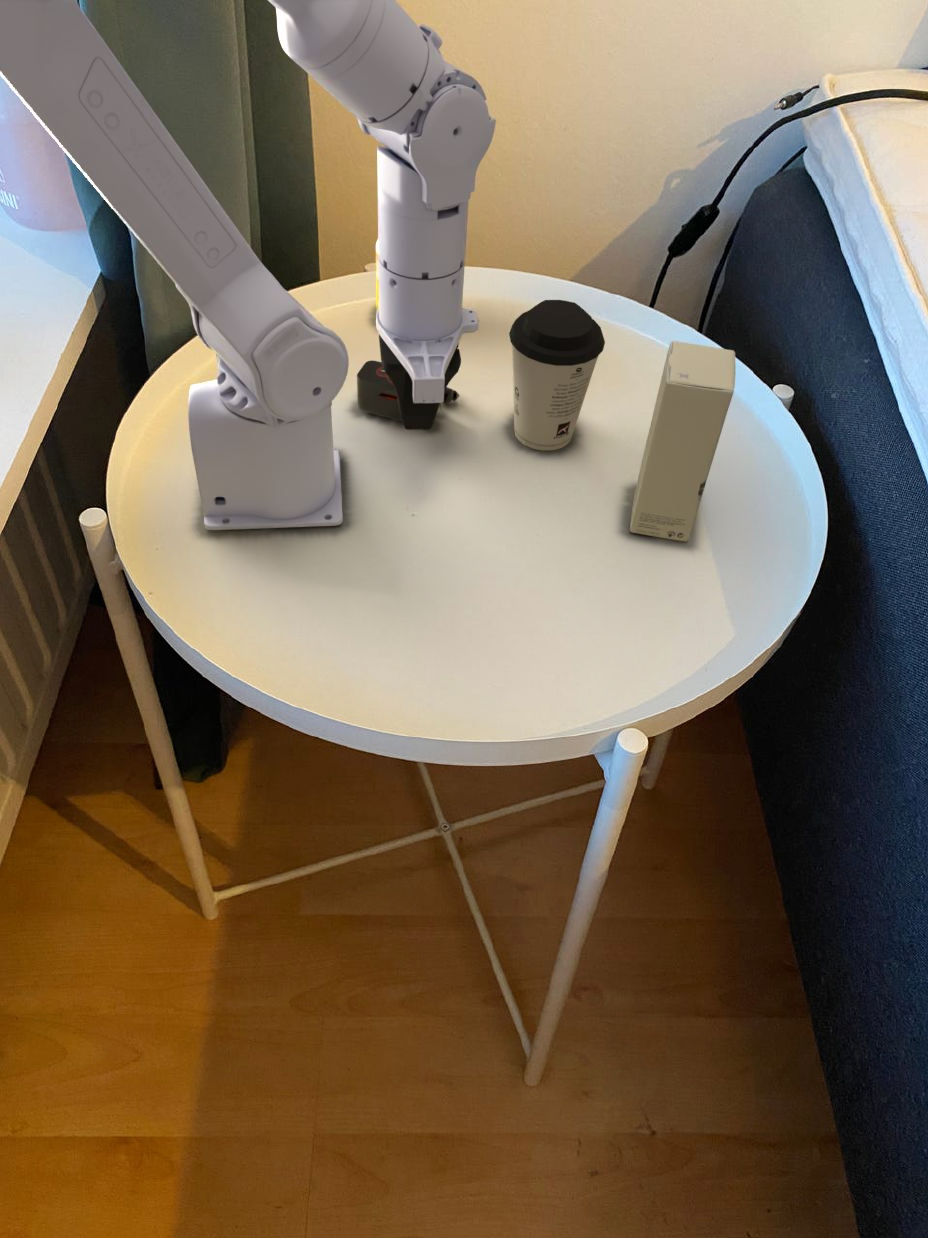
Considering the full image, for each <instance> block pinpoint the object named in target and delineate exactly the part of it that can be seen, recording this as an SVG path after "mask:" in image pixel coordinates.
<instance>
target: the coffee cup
mask: <svg viewBox="0 0 928 1238" xmlns="http://www.w3.org/2000/svg"><path fill="white" fill-rule="evenodd" d="M508 335H509V336H508V337H509V341H510V343H511V353H512V355H511V356H512V357H511V358H512V394H513V395H512V396H513V399H512V401H513V431H514V436H515V438H516V439H517V440H518V442H520V443H521V444H522V445H524V446H526V447H527V448H530V449H532V450H537V451H541V452H543V451H545V452H548V451H550V452H552V451H557V450H561V449H562V448H565V446H567V445H568V444H570V442H571V441H572V437H573V434H574V432H575V429H576V425H577V421H578V420H579V416H580V413H581V410H582V407H583V405H584V400H585V397H586V395H587V392H588V389H589V386H590V382H591V380H592V377H593V373H594V370H595V367H596V364H597V361H598V358H599V355H601V353H602V352H603V351H604V348H605V345H606V341H605V337H604V334H603V331H602V327H601V326H600V324H598V323H597V321H596V320H595V319H594V318H593V317H592V315H590V314H589V313H588V312H587V311H586V310H585V309H584V308H583V307H581V305H579V304H578V303H576V302H574V301H569V300H563V299H543V300H542V301H540V302H539V303H537V304H535V305H534V306H533V307H531V308H530V309H529V310H527V311H524V312H522V313H521V314H520V315H518V317H517V318H515V320H514V322H513V323H512V325H511V327H510V329H509V332H508Z"/></svg>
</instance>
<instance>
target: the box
mask: <svg viewBox="0 0 928 1238" xmlns="http://www.w3.org/2000/svg"><path fill="white" fill-rule="evenodd" d="M735 386H736V352H735V351H734V349H733V350H732V349H728V348H727V349H726V348H721V347H715V346H708V345H703V344H702V345H701V344H695V343H689V342H683V341H677V340H671V342H670V343H669V346H668V350H667V353H666V358H665V362H664V366H663V370H662V374H661V379H660V382H659V387H658V392H657V396H656V399H655V404H654V409H653V413H652V416H651V417H652V418H651V421H650V426H649V428H648V429H649V430H648V433H647V438H646V442H645V446H644V451H643V457H642V461H641V465H640V469H639V473H638V477H637V482H636V485H635V491H634V495H633V500H632V509H631V515H630V524H629V525H630V526H629V531H630V533H633V534H639V535H644V536H649V537H655V538H661V539H669V540H675V541H680V542H689V540H690V537H691V535H692V532H693V529H694V525H695V522H696V518H697V515H698V511H699V508H700V506H701V505H700V503H701V502H702V499H703V494H704V491H705V487H706V485H707V481H708V477H709V473H710V472H711V471H710V470H711V468H712V464H713V461H714V457H715V454H716V452H717V448H718V444H719V441H720V437H721V434H722V431H723V428H724V424H725V421H726V418H727V414H728V411H729V408H730V404H731V402H732V399H733V396H734V392H735Z"/></svg>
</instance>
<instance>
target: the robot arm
mask: <svg viewBox="0 0 928 1238" xmlns="http://www.w3.org/2000/svg"><path fill="white" fill-rule="evenodd" d="M267 1H268V2H269V3H270V4H271V5H272V6H273V7H275V12H276V13H275V14H276V26H277V34H278V35H277V36H278V40H279V43H280V45H281V48H282V50H283V51H284V53H285V54H286V55H287V56H288V57H289V58H290V59H291V60H292V61H293V62H294V63H295V64H296V65H298V66H299V67H300V68H301V69H302V70H304V71H305V72H306V73H307V74H308V75H309V76H310V77H311V78H312V79H313V80H314V81H315V82H317V83H318V84H319V85H320V86H321V87H322V88H323V89H324V90H326V92H327V93H328V94H330V95H331V96H332V97H333V98H334V99H335V100H336V101H337V102H338V103H340V104H341V105H342V106H343V107H344V108H345V109H346V110H347V111H348V112H349V113H350V114H351V115H353V116H354V117H355V118H356V120H357V122H358V125H359V128H360V129H361V131H362V133H364V134H365V135H367V136H368V135H370V136H372V137H373V138H374V139H375V141H377V142H378V143H380V144H381V145H383V146H381V145H377V147H376V155H377V156H376V163H377V164H376V167H377V169H376V170H377V171H376V172H377V175H376V177H377V228H378V229H377V240H378V272H379V309H378V311H376V312H377V313H375V327H376V331H377V333H378V343H379V352H380V354H379V355H380V362H381V363H382V366H383V369H384V371H385V373H386V374H387V376H388V377H389V378H390V380H391V382H392V384H393V386H394V388H395V391H396V394H397V398H398V404H399V409H400V414H401V419H402V421H401V422H402V425H403V428H404V429H405V430H406V431H412V430H414V431H415V430H416V431H417V430H418V431H419V430H431V429H432V428H433V425H434V423H435V421H436V419H437V417H436V414H437V411H438V408H439V404H440V403H441V404H442V403H443V402H444V391H445V389H446V387H448V385H449V384H450V382H451V381H452V379H453V378H454V377H455V376H456V375H457V374H458V373H459V370H460V367H461V364H462V356H461V352H460V348H459V344H460V340H461V339H462V336H463V335H464V334H472V333H473V334H474V333H476V332H477V331H478V329H479V317H478V312H477V311H476V310H475V309H473V308H463V298H464V282H465V267H466V251H467V235H468V218H469V204H470V203H469V201H470V199H471V194H472V193H473V192H475V189H476V188H475V187H476V176H477V170H478V168H479V166H480V164H481V162H482V160H483V159H484V157H485V156H486V153H487V152H488V150H489V147H490V145H491V143H492V140H493V137H494V134H495V131H496V124H497V120H496V118H492V116H491V115H490V113H489V108H488V105H487V102H486V101H487V97H486V94H485V91H484V89H483V88H482V85H481V84H480V83H479V81H478V80H477V79H476V78H474V77H473V76H471V75H470V74H468V73H466V72H465V71H463V70H462V69H460V68H458V67H456V66H454V65H453V64H451V63H449V62H448V61H446V60H444V58H443V55H442V53H441V50H440V49H441V46H442V44H443V39H442V37H441V36H440V35H439V34H438V33H437V32H436V31H435V30H434V29H433V28H431V27H430V26H428V25H427V24H424V23H421V24H420V25H418V24H417V23H416V21H414V19H413V18H412V17H411V16H410V15H409V14H408V12H407V11H405V10H404V8H403V7H402V6H401V4H399V2H398V1H397V0H267ZM0 77H1V78H2V80H4V81H5V82H6V84H7V85H8V86H9V88H10V89H11V90H12V91H13V92H14V93H15V94H16V96H17V97H18V98H19V99H20V100H21V102H22V103H23V104H24V106H25V107H26V108H27V109H28V110H29V111H30V112H31V114H32V115H33V116H34V118H36V119H37V121H38V122H39V123H40V124H41V126H42V127H43V128H44V129H45V130H46V132H47V133H48V134H49V135H50V136H51V138H52V139H53V140H54V141H55V142H56V143H57V145H58V146H59V147H60V148H61V149H62V151H63V152H64V153H65V154H66V155H67V157H68V158H69V159H70V160H71V161H72V163H73V164H74V165H75V166H76V167H77V168H78V170H79V171H80V172H81V173H82V175H84V177H85V178H86V179H87V181H88V182H89V183H90V184H91V185H92V186H93V188H94V189H95V190H96V191H97V192H98V194H100V196H101V197H102V198H103V200H105V202H106V203H107V204H108V205H109V207H110V208H111V209H112V210H113V212H115V214H116V215H117V216H118V218H119V219H120V220H121V221H122V223H124V224H125V226H126V227H127V228H128V229H129V230H130V232H132V234H133V235H134V237H135V238H136V239H137V240H138V242H139V243H140V244H141V245H142V246H143V247H144V248H145V250H146V251H147V252H148V253H149V255H151V257H152V258H153V259H154V260H155V261H156V263H157V264H158V265H159V266H160V267H161V269H162V270H163V271H164V272H165V274H167V276H168V277H169V278H170V279H171V281H172V282H173V283H174V284H175V288H176V289H177V291H178V292H179V293H180V294H181V295H182V296H183V298H184V300H185V301H186V302H187V304H188V306H189V309H190V314H191V318H192V324H193V327H194V330H195V333H196V335H197V337H198V338H199V340H200V341H201V342H202V343H203V344H204V345H205V347H207V348H208V349H210V350H212V351H213V352H214V353H215V356H216V357H215V358H216V365H217V374H216V378H215V379H212V380H207V381H204V382H198V383H192V384H191V385H190V387H189V391H188V408H187V409H188V411H187V413H188V417H187V418H188V430H189V441H190V447H191V448H190V449H191V454H192V459H193V465H194V470H195V474H196V480H197V485H198V490H199V491H198V492H199V495H200V500H201V505H202V511H203V524H204V528H205V530H208V531H226V530H228V531H229V530H255V529H279V528H280V529H283V528H304V527H306V528H308V527H309V528H311V527H333V526H334V527H335V526H340V525H341V524H342V523H343V521H344V516H343V496H342V494H343V493H342V479H341V478H342V477H341V457H340V451H339V450H338V449H336V448H334V435H333V416H332V415H333V414H332V406H333V401H334V400H335V399H336V397H337V396H338V395H339V393H340V391H342V388H343V386H344V384H345V381H346V379H347V376H348V373H349V365H350V361H349V359H350V358H349V353H348V349H347V347H346V344H345V343H344V341H343V340H342V338H341V336H339V335H338V334H337V333H336V332H335V331H334V330H333V329H331V328H329V327H327V326H325V325H324V324H322V323H321V321H319V320H318V319H317V318H316V317H315V316H314V315H313V314H312V313H311V312H310V311H309V310H308V309H306V308H305V306H303V305H302V304H301V303H300V302H299V301H298V300H297V299H296V298H295V297H294V296H293V295H291V293H289V292H288V291H287V290H286V288H284V287H283V285H281V284H280V282H279V281H278V279H277V278H276V277H275V276H274V275H273V274H272V273H271V272H270V271H269V270H268V268H267V267H266V266H265V265H264V263H262V261H261V260H260V259H259V257H258V256H257V255H256V253H255V252H254V250H253V249H252V247H251V246H250V244H249V243H248V242H247V241H246V239H245V238H244V236H243V235H242V234H241V232H240V230H239V229H238V228H237V226H236V225H235V224H234V222H233V221H232V220H231V218H230V217H229V215H228V214H227V212H226V211H225V209H224V208H223V207H222V205H221V203H219V201H218V200H217V198H216V197H215V196H214V194H213V193H212V191H211V190H210V188H209V187H208V186H207V184H206V183H205V182H204V180H203V178H202V177H201V176H200V174H199V172H197V170H196V169H195V168H194V166H193V164H192V163H191V162H190V161H189V159H188V157H187V156H186V155H185V153H184V151H183V150H182V148H180V146H179V145H178V143H177V141H175V139H174V138H173V136H172V135H171V134H170V132H169V131H168V129H167V128H166V126H165V125H164V124H163V122H162V121H161V119H160V118H159V117H158V115H157V113H156V112H155V111H154V110H153V108H152V107H151V105H150V104H149V102H148V101H147V100H146V98H145V97H144V95H143V94H142V92H141V91H140V90H139V88H138V87H137V86H136V84H135V82H134V81H133V80H132V79H131V77H130V76H129V74H128V73H127V72H126V71H125V69H124V67H123V66H122V65H121V63H120V61H119V60H118V59H117V57H116V56H115V55H114V53H113V52H112V50H111V49H110V47H109V46H108V44H107V43H106V42H105V40H104V38H102V36H101V35H100V33H99V32H98V31H97V29H96V28H95V26H94V25H93V24H92V22H91V21H90V19H89V18H88V16H87V15H86V14H85V12H84V11H83V9H82V8H81V7H80V5H79V2H78V0H0ZM435 418H436V419H435ZM434 420H435V421H434Z"/></svg>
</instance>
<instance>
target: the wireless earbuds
mask: <svg viewBox="0 0 928 1238" xmlns="http://www.w3.org/2000/svg"><path fill="white" fill-rule="evenodd" d="M356 391H357V392H356V393H357V395H356V396H357V407H358V408H359V410H360V411H362V412H364V413H368V414H373V415H376V416H380V417H385V418H387V419H388V418H389V419H393V420H395V421H396V420H397V421H400V422H402V419H401V414H400V409H399V404H398V398H397V394H396V391H395V388H394V386H393V384H392V382H391V380H390V378H389V377H388V376H387V374H386V373H385V371H384V369H383V366H382V363H381V361H378V360H368V361H366V362H365V363H364V364H363V365H362V366H361V368H360V369H359V370H358V372H357V374H356ZM459 398H460V393H458V391H457V390H455V389H453V388H450V387H448V386H447V387H446V389H445V391H444V402H443V403H440V404H439V408H438V411H437V414H436V418H435V420H434V422H435V421H436V419H437V417H438V416H439V414H440V413H441V409H442V405H444V406H445V407H447V406H449V405H450V404H451V403H452V402H456V401H457V400H458V399H459Z"/></svg>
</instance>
